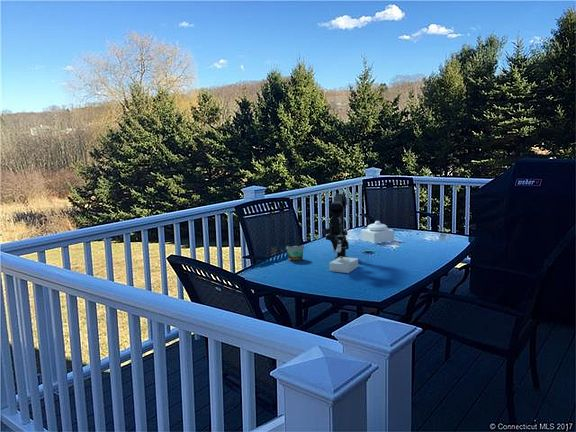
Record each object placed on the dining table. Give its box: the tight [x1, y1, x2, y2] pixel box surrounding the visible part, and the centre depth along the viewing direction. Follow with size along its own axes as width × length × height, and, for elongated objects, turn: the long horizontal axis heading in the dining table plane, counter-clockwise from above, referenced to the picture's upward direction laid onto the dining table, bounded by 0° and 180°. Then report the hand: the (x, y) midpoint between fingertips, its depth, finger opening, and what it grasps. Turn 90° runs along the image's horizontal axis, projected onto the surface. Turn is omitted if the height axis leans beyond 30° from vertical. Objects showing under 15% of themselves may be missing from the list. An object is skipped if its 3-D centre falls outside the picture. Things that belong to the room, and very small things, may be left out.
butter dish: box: [360, 220, 395, 244], centre depth 358 cm, size 18×18×16 cm
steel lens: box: [332, 240, 341, 253], centre depth 285 cm, size 5×5×7 cm
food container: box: [285, 244, 305, 263], centre depth 307 cm, size 12×6×10 cm, turn 105°
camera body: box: [328, 256, 359, 274], centre depth 284 cm, size 16×12×6 cm
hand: (337, 249), depth 285 cm, fingers closed on steel lens, 5 cm apart
